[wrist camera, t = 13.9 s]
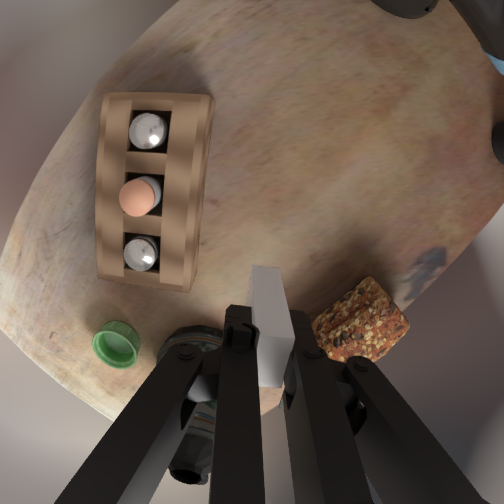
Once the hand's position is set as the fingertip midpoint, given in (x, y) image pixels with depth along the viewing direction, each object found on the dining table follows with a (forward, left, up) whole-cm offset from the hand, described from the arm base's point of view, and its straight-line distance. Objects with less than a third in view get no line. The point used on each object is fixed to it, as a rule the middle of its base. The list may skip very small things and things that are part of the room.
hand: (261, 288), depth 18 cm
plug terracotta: (0, -14, -25) cm, 29 cm away
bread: (+20, +19, -29) cm, 40 cm away
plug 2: (+8, -14, -27) cm, 31 cm away
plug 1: (-8, -14, -27) cm, 31 cm away
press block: (0, -14, -28) cm, 32 cm away
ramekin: (+29, -21, -29) cm, 46 cm away
